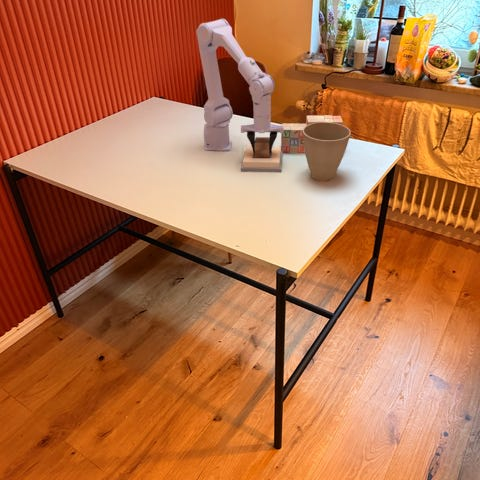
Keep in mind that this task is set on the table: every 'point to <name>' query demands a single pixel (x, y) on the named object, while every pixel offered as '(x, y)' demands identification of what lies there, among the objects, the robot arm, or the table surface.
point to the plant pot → (325, 148)
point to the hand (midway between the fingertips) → (262, 151)
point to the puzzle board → (262, 161)
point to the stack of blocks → (301, 133)
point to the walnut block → (262, 147)
